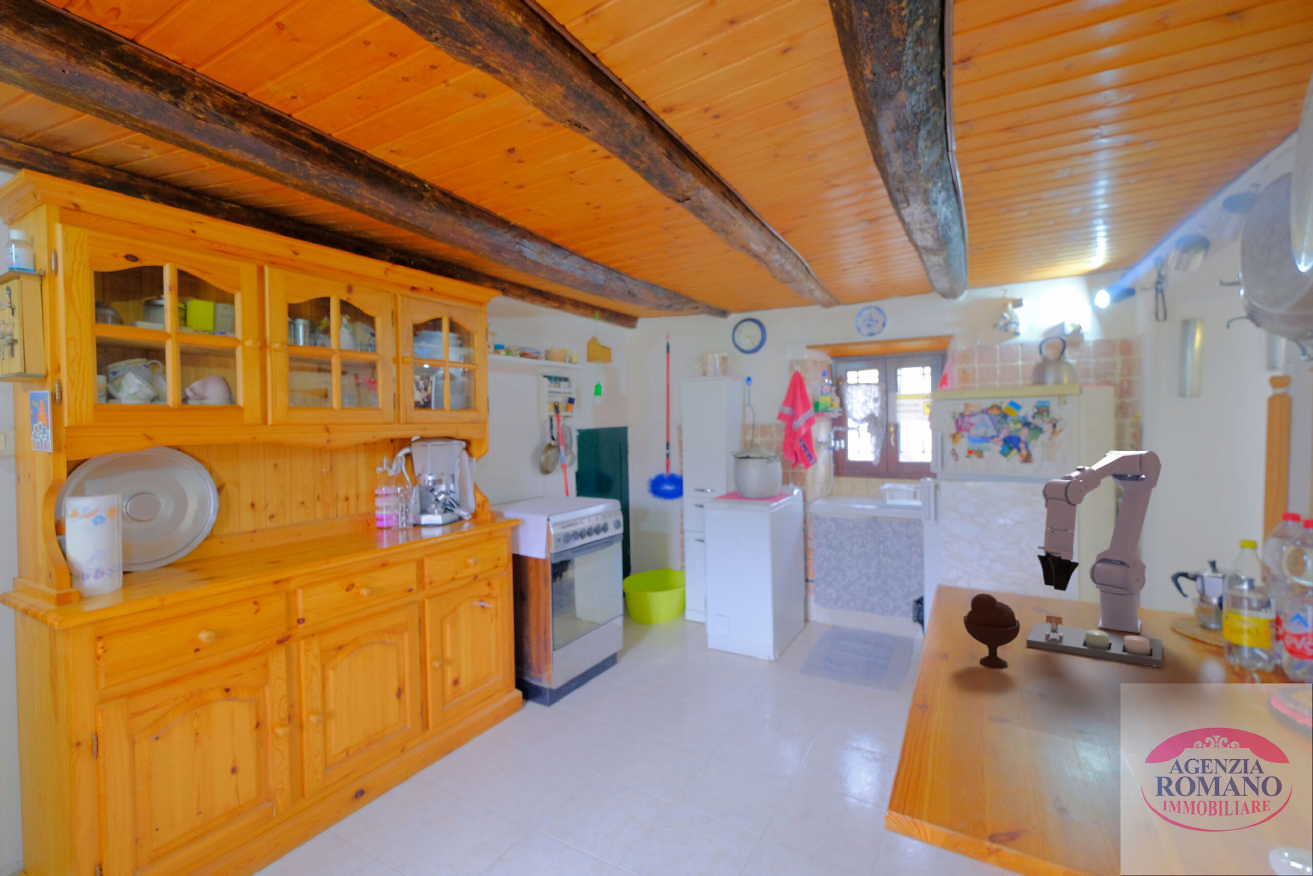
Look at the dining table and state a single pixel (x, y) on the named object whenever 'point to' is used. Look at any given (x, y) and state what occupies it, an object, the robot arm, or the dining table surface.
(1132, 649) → the pinkish beige button
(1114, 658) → the panel
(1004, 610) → the ice cream bowl
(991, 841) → the dining table surface
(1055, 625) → the toggle lever
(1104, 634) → the sage button
